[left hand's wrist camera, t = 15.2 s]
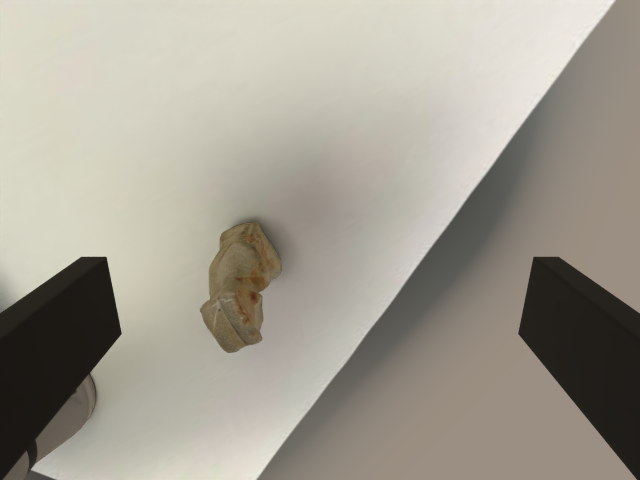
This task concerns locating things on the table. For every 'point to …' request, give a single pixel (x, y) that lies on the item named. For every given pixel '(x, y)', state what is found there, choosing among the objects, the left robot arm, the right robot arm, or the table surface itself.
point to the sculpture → (239, 286)
